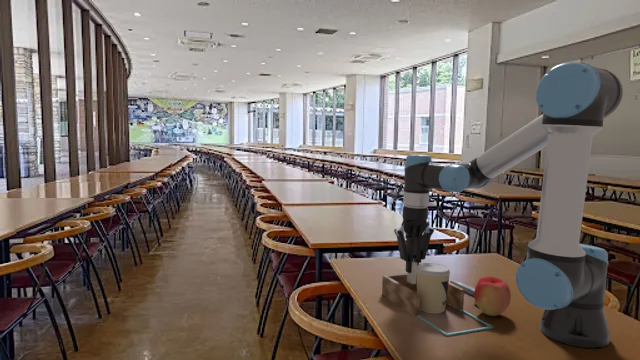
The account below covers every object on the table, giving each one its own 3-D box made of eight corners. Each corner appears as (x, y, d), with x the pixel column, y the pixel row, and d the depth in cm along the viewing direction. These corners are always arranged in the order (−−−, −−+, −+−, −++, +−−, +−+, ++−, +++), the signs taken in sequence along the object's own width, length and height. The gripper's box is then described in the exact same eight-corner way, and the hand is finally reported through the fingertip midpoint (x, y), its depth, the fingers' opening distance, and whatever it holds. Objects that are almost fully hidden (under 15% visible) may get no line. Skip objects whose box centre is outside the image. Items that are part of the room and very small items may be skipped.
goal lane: (493, 328, 114) (493, 326, 114) (446, 336, 108) (446, 334, 108) (461, 310, 125) (461, 308, 125) (417, 316, 120) (417, 315, 120)
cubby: (463, 310, 126) (464, 289, 125) (415, 317, 120) (416, 295, 119) (425, 289, 142) (426, 271, 142) (381, 294, 136) (382, 275, 136)
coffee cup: (449, 316, 121) (451, 273, 120) (414, 312, 123) (416, 270, 121) (446, 304, 130) (449, 264, 129) (414, 300, 132) (416, 261, 131)
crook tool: (496, 304, 131) (496, 298, 131) (478, 307, 128) (479, 301, 128) (454, 285, 148) (454, 279, 147) (437, 287, 145) (438, 282, 144)
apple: (465, 309, 126) (467, 275, 125) (492, 306, 129) (494, 272, 128) (489, 323, 117) (492, 286, 116) (517, 319, 120) (520, 283, 119)
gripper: (426, 203, 139) (422, 276, 141) (390, 204, 134) (386, 280, 136) (441, 207, 132) (436, 284, 134) (403, 208, 127) (399, 288, 129)
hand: (411, 282), depth 135 cm, fingers closed
